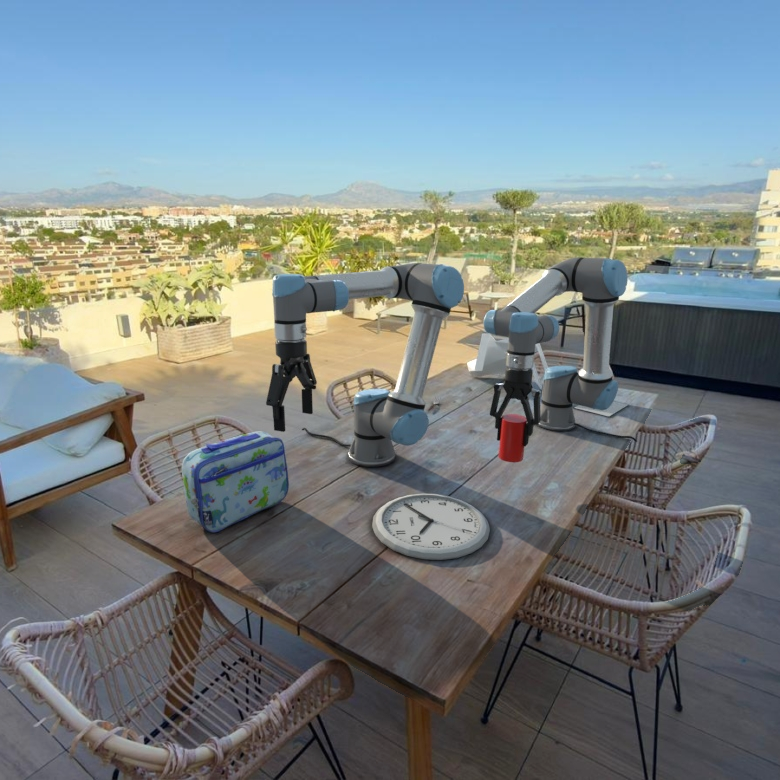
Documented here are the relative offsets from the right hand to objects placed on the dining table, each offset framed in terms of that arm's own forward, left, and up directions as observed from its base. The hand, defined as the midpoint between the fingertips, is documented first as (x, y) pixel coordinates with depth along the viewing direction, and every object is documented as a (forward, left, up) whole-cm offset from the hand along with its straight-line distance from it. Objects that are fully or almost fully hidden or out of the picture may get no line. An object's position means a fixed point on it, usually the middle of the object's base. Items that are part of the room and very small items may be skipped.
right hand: (512, 441), depth 156 cm
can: (0, 0, -5) cm, 5 cm away
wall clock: (+23, +29, -12) cm, 39 cm away
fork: (+26, -64, -12) cm, 70 cm away
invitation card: (-47, -76, -12) cm, 90 cm away
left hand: (+58, +26, +13) cm, 65 cm away
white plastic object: (-8, -105, -12) cm, 106 cm away
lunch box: (+73, +31, -12) cm, 80 cm away
